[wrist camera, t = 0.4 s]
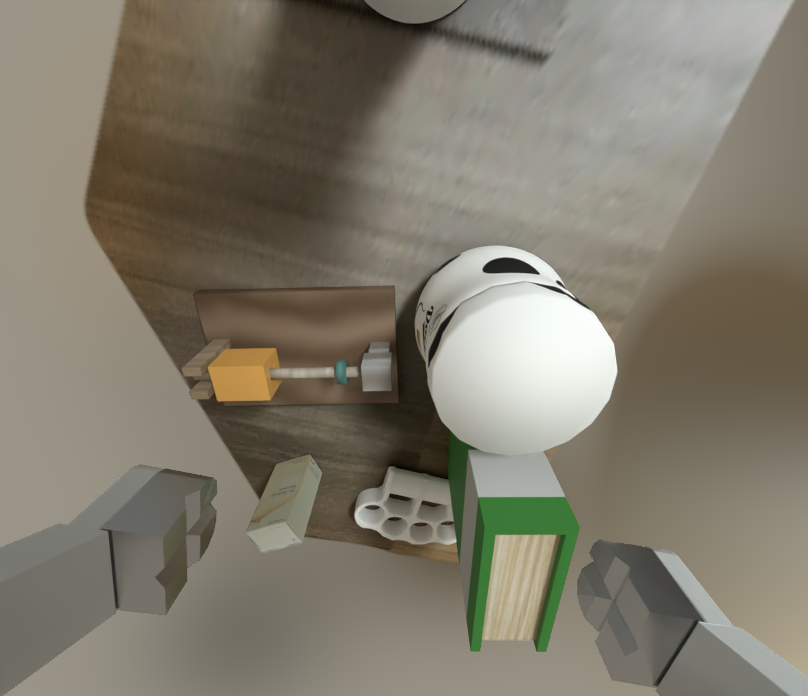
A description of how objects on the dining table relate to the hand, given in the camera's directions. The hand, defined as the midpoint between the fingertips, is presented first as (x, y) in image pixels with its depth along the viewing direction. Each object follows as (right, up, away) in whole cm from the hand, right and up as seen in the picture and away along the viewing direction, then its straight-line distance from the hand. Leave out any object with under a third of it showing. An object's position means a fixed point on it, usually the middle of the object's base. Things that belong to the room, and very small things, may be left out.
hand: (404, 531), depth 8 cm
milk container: (+10, +9, +39) cm, 41 cm away
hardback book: (+10, -8, +47) cm, 49 cm away
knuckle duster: (+1, -21, +54) cm, 58 cm away
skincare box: (-16, -15, +51) cm, 55 cm away
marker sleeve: (-18, +2, +37) cm, 41 cm away
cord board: (-13, +4, +41) cm, 44 cm away
